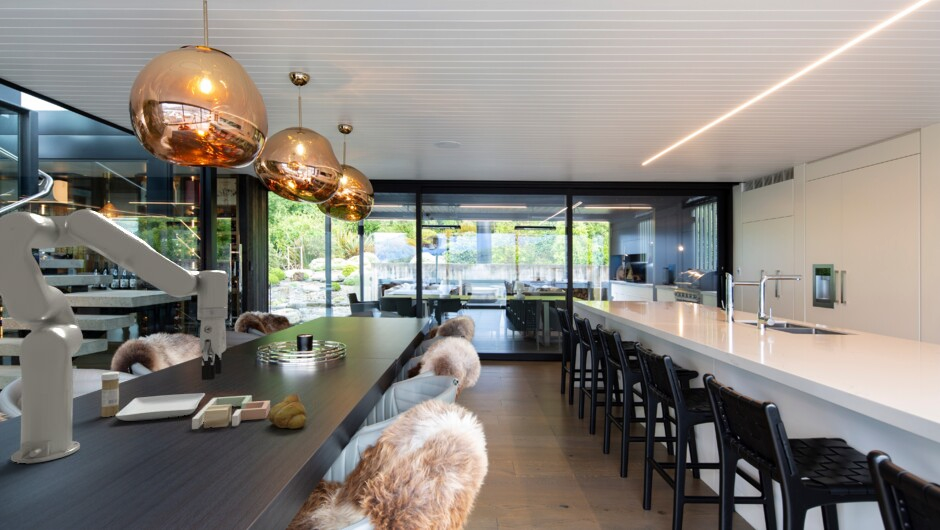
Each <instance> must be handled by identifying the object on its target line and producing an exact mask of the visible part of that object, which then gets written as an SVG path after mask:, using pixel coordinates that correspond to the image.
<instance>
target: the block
mask: <svg viewBox="0 0 940 530" xmlns="http://www.w3.org/2000/svg"><path fill="white" fill-rule="evenodd" d="M231 422H232V407H231V404H229V405H213V406H209V407H208V408H207V409H206V410H205V411H204V423H203V429H209V428H210V427H212V428H222V427H227V426H229V424H230V423H231Z"/></svg>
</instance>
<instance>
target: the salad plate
mask: <svg viewBox="0 0 940 530" xmlns="http://www.w3.org/2000/svg"><path fill="white" fill-rule="evenodd" d="M205 396H206V393H204V392H200V393H183V394H182V393H181V394H166V395H155V396H145V397H144V396H143V397H142V396H141V397H135V398H134V399H132V400H131V401H130V402H129V403H128V404H127V405H126V406H124V407H123V408H122V409H121V410H120V411H119V412H118V413H117V414H116V415H115V416H114V417H116V418H117V420H121V421H127V422H131V421H132V422H135V421H147V420H157V419H166V418H167V419H168V417H169V418H177V417H178V416H179V417H184V415H185V416H188V415H191V414H193V413H194V412H195V411H196V410H197V408H198V405H199V404H200V402H201V400H203V398H204V397H205Z"/></svg>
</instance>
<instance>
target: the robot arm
mask: <svg viewBox="0 0 940 530" xmlns="http://www.w3.org/2000/svg"><path fill="white" fill-rule="evenodd" d="M80 246H81V247H82V246H86V247H87V248H89V249H91V250H93V251H95V252H96V253H97V254H99V255H101V256H103V257H105V258H106V259H107V260H109V261H111V262H113V263H114V264H116V265H118V266H119V267H122V268H123V269H124V270H125V271H128V272H130V273H131V274H134V275H135V276H137V277H138V278H140V279H142V280H143V281H145V282H147V283H148V284H150V285H152V286H153V287H155V288H156V289H158V290H160V291H162V292H164V293H165V294H167V295H169V296H171V297H175V298H184V297H188V296H195V295H197V313H196V315H197V320H198V321H200V330H199V332H200V333H199V353H200V355H201V356H202V358H201V359H202V360H201V361H202V362H201V380H202V381H212V380H215V379H216V375H221V374H222V372H223V371H222V365H223V361H222V353H224V352H226V350H227V333H226V332H227V330H226V329H227V328H226V320H227V319H228V308H229V305H228V304H229V303H228V301H229V298H228V297H229V293H228V292H229V291H228V290H229V276H228V272H226V271H225V270H211V269H210V270H201V271H197V270H188V269H185V268H183V267H182V266H180V265H178V264H177V263H175V262H173V261H171V260H170V259H169V258H167V257H166V256H164V255H162V254H161V253H159V252H157V250H155V249H154V248H153V247H151V246H150V245H149V244H148V243H147V242H146V241H145V240H143V239H141V238H140V237H138V236H137V235H135V234H133V233H132V232H130V231H128V230H127V229H125V228H124V227H122V226H120V225H119V224H117V223H115V222H114V221H112V220H110V219H109V218H108V217H106V216H104V215H103V214H101V213H99V212H97V211H94V210H92V209H87V208H86V209H84V208H83V209H78V210H75V211H73V212H72V213H70V214H69V215H52V216H51V215H50V216H48V215H47V216H44V215H43V216H42V215H39V214H38V213H37V214H36V213H33V212H29V211H15V212H10V213H8V214H5V215H2V216H1V217H0V297H1V299H2V301H3V303H4V306H5V308H6V311H7V314H8V315H9V316H10V318H11V319H13V320H14V321H15V322H17V323H20V324H27V325H28V326H29V329H30V331H31V332H30V333H28V334H27V335H26V336H25V337H24V338H23V340H22V341H21V344H20V346H19V351H18V355H19V364H20V365H19V366H20V372H21V373H20V374H21V405H20V407H21V412H20V413H21V414H20V415H21V416H20V417H21V418H20V448H19V449H18V450H17V451H16V452H14V453H12V455H11V458H10V460H12V461H14V462H17V463H16V464H19V463H26V464H37V463H43V462H49V461H52V460H57V459H60V458H64V457H66V456H69V455H72V454H74V453H76V452H78V451H79V450H80V448H81V443H80V442H78V441H74V440H73V418H74V417H73V414H74V413H73V412H74V411H73V410H74V409H73V408H74V406H73V405H74V369H73V361H72V356H73V355H75V354H76V353H77V352H78V351H79V350H80V349H81V347H82V345H83V341H84V337H83V336H84V335H83V333H82V330H81V327H80V325H79V323H78V319H77V318H76V316H75V312H74V311H73V308H72V307H71V304H70V301H69V299H68V298H67V296H66V294H64V293H63V292H62V291H61V290H60V289H58V288H57V287H55V286H52V285H49V284H47V281H46V280H45V277H44V275H43V273H42V270H41V268H40V266H39V264H38V262H37V260H36V258H35V256H34V255H33V252H32V251H33V250H32V249H38V250H41V249H44V250H45V249H57V248H58V249H59V248H69V247H80ZM12 461H11V462H12ZM14 462H13V463H14Z"/></svg>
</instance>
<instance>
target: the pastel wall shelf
mask: <svg viewBox="0 0 940 530" xmlns="http://www.w3.org/2000/svg"><path fill="white" fill-rule="evenodd" d="M229 404H231V408H232V406H233V407H240V409H236V410H235V411H234V413H233V414H232V415H231V427H237V426H239V425H240V423H241V421H247V420H249V421H250V420H262V419H267V417H268V416H269V413H270V411H271V400H260V401H259V400H258V401H257V400H256V401H253V396H252V395H237V396H236V395H235V396H223V397H221V396H220V397H212V398H211V399H210V400H209V401H208V402H207V403H206V404H205V405H204V406H203V407H202V408H201V409H200V410H199V411H198V412H197V414H196V415H195V416H193V417H192V419H191V430H198V429H199V428H200V427H201V426H202V425H204V423H203V422H204V411H205V410H206V409H207V408H208V407H209V406H213V405H229Z"/></svg>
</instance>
